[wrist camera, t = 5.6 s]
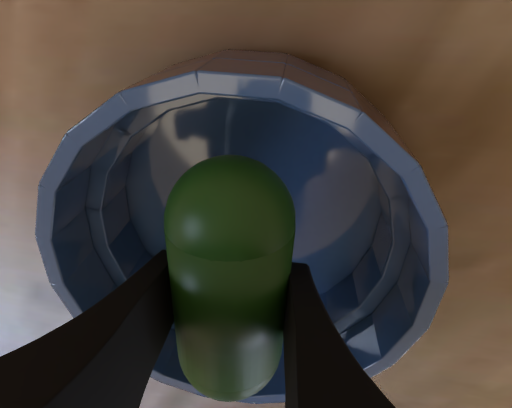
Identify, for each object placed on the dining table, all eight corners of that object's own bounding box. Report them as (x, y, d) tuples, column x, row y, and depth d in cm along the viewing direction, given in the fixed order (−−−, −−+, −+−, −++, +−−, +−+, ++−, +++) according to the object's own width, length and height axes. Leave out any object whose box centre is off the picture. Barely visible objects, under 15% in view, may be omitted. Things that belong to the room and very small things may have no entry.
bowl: (268, 349, 22) (260, 439, 17) (60, 216, 19) (-17, 284, 14) (475, 201, 16) (546, 282, 11) (218, -43, 12) (171, -68, 8)
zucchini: (274, 346, 17) (280, 436, 13) (190, 344, 17) (173, 434, 13) (294, 138, 12) (312, 195, 8) (173, 134, 12) (138, 190, 8)
